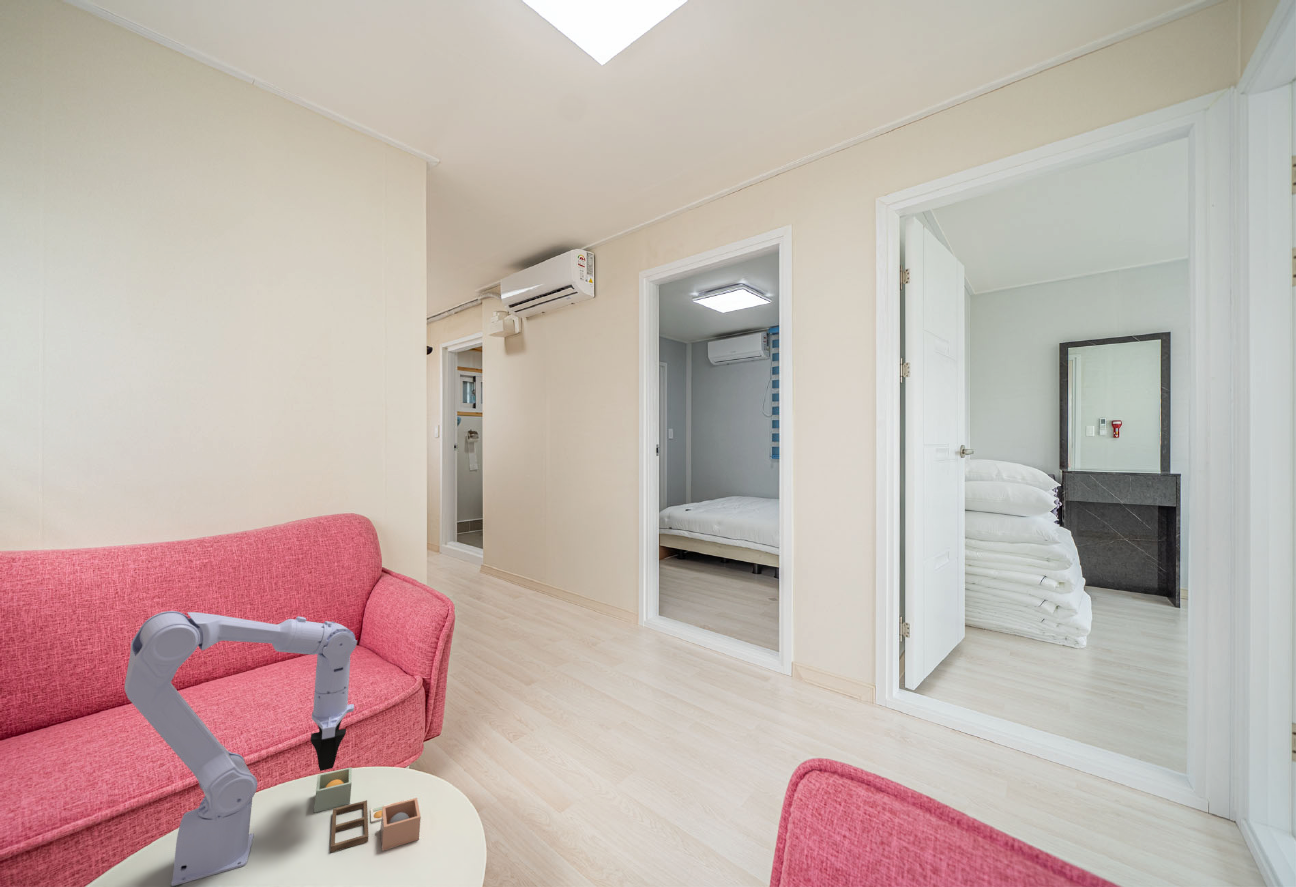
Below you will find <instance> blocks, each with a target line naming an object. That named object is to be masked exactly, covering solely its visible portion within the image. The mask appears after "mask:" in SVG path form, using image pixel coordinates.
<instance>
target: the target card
mask: <svg viewBox="0 0 1296 887" xmlns="http://www.w3.org/2000/svg"><path fill="white" fill-rule="evenodd" d="M403 801H405V800H404V799H403V800H399V801H395V802H391V803H387V804H385V805H380V806H376V807H373V808H370V810H369V812H370V823H371V824H373V823H377V822H381V817H382V807H384V806H388V805H392V804H395V803H399V802H403Z"/></svg>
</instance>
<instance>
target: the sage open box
mask: <svg viewBox="0 0 1296 887" xmlns="http://www.w3.org/2000/svg"><path fill="white" fill-rule="evenodd" d="M352 768H353V767H352V766H351V767H347V768H342V769H337V770H333V771H328V772H324V773H319V774H317V779H316V788H315V798H314V809H313V813H314V814H315V813H318V812H323V811H327V810H332V809H335V808H339V807H342V806H346V805H350V804H351V794H352V782H353V780H352V776H353V774H352V773H353V771H352V770H353V769H352ZM333 780H341V781H343V783H344V784H340V785H336V786H331V787H327V788H325V787H326V786H327V784H328V783H330V782H331V781H333Z"/></svg>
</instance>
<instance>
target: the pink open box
mask: <svg viewBox="0 0 1296 887" xmlns="http://www.w3.org/2000/svg"><path fill="white" fill-rule="evenodd" d="M398 802H399V801H398ZM394 803H395V802H394ZM401 812H403V813H406V814H407V815H408V816H409V819H405V820H402V821H398V822H394V823H391V824H389V822H390V820H391V818H392V817H393V816H394V815H396V814H397V813H401ZM421 820H422V817H421V812H420V806H419V801H418V797H415V798H412V799H411V798H410V799H406V800H404V801H403V802H399V803H395V804H392V805H388V806H384V807H382V817H381V821H380V840H381V841H380V842H381V850H382V852H383V851H385V850H386V851H387V850H389V849H392V848H396V847H399V846H402V845H406V844H409V843H412V842H415V841H419V840H420V832H421Z"/></svg>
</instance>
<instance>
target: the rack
mask: <svg viewBox="0 0 1296 887" xmlns="http://www.w3.org/2000/svg"><path fill="white" fill-rule="evenodd" d="M361 809H362V810H363V812H362V813H363V814H362V815H363V817H359V818H355V819H352V820H349V821H345V822H342V823H337V816H339V815H342V814H345V813H349V812H355V811H357V810H361ZM368 813H369V812H368V800H367V799H366V800H362V801H359V802H355V803H350V804H347V805H343V806H339V807H335V808H332V814H331V815H332V819H331V834H330V835H331V837H330V851H329V852H330V854H331V853H334V852H338V851H340V850H344V849H347V848H351V847H355V846H358V845H362V844H364V843H368V842H369V836H370V835H369V818H368V816H369V815H368ZM359 826H361V827H362V826H363V835H360V836H356V837H353V838H350V839H345V840H341V841H339V842H336V833H338V832H342V831H346V830H349V829H352V828H357V827H359Z"/></svg>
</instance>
